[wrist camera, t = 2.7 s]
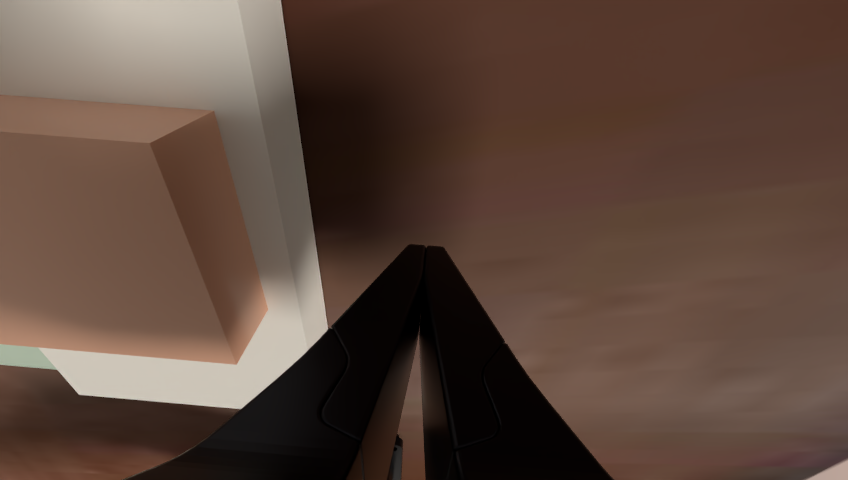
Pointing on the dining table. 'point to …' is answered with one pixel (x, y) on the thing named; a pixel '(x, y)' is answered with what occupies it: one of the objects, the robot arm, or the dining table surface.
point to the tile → (122, 232)
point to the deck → (244, 146)
